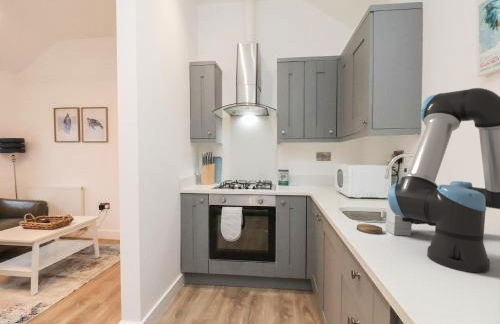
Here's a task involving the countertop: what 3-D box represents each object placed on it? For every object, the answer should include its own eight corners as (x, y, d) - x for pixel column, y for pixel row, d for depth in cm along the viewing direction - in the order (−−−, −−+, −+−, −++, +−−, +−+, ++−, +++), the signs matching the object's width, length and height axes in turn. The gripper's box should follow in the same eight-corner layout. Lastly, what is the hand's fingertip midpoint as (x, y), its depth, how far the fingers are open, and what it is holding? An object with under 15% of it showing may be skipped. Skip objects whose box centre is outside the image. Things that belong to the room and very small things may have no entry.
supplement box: (411, 235, 104) (413, 205, 104) (393, 235, 105) (395, 204, 104) (401, 230, 112) (402, 202, 111) (384, 229, 112) (385, 201, 112)
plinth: (387, 234, 106) (387, 230, 106) (364, 233, 105) (364, 230, 105) (373, 227, 116) (373, 223, 116) (352, 226, 115) (352, 223, 115)
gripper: (458, 233, 99) (403, 232, 97) (419, 219, 120) (373, 218, 118) (459, 214, 99) (404, 213, 97) (420, 203, 120) (374, 202, 118)
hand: (387, 216), depth 108 cm, fingers closed on supplement box, 8 cm apart
